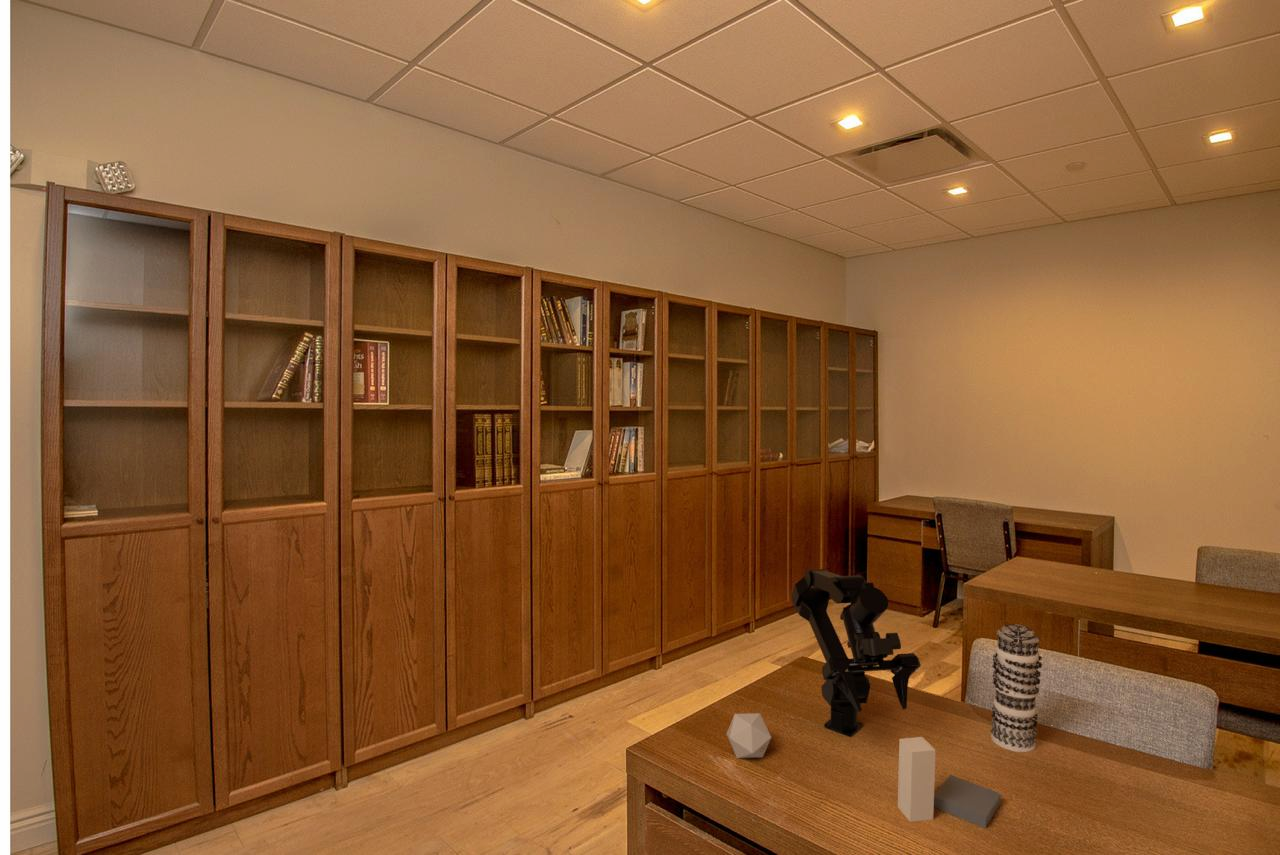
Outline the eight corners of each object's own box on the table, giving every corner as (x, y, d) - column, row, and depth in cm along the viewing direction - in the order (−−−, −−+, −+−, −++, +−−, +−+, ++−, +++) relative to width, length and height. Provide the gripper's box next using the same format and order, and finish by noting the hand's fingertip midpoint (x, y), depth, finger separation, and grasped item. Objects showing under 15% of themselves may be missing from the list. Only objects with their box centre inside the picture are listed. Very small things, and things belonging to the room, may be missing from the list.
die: (759, 774, 141) (783, 728, 143) (720, 749, 142) (744, 704, 144) (752, 766, 149) (774, 722, 151) (715, 742, 150) (738, 699, 152)
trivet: (949, 784, 136) (950, 774, 136) (1000, 803, 130) (1000, 793, 130) (932, 806, 129) (933, 796, 129) (985, 828, 123) (985, 817, 123)
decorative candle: (1048, 747, 148) (1054, 632, 146) (1016, 757, 145) (1022, 639, 142) (1010, 726, 157) (1015, 617, 154) (979, 735, 153) (984, 624, 151)
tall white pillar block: (897, 806, 129) (899, 738, 128) (920, 803, 130) (922, 736, 129) (910, 821, 125) (912, 752, 124) (933, 819, 126) (935, 750, 124)
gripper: (829, 620, 140) (849, 701, 130) (918, 615, 142) (945, 695, 132) (813, 640, 149) (831, 717, 139) (898, 635, 151) (921, 711, 141)
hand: (882, 710), depth 138 cm, fingers open, 9 cm apart
